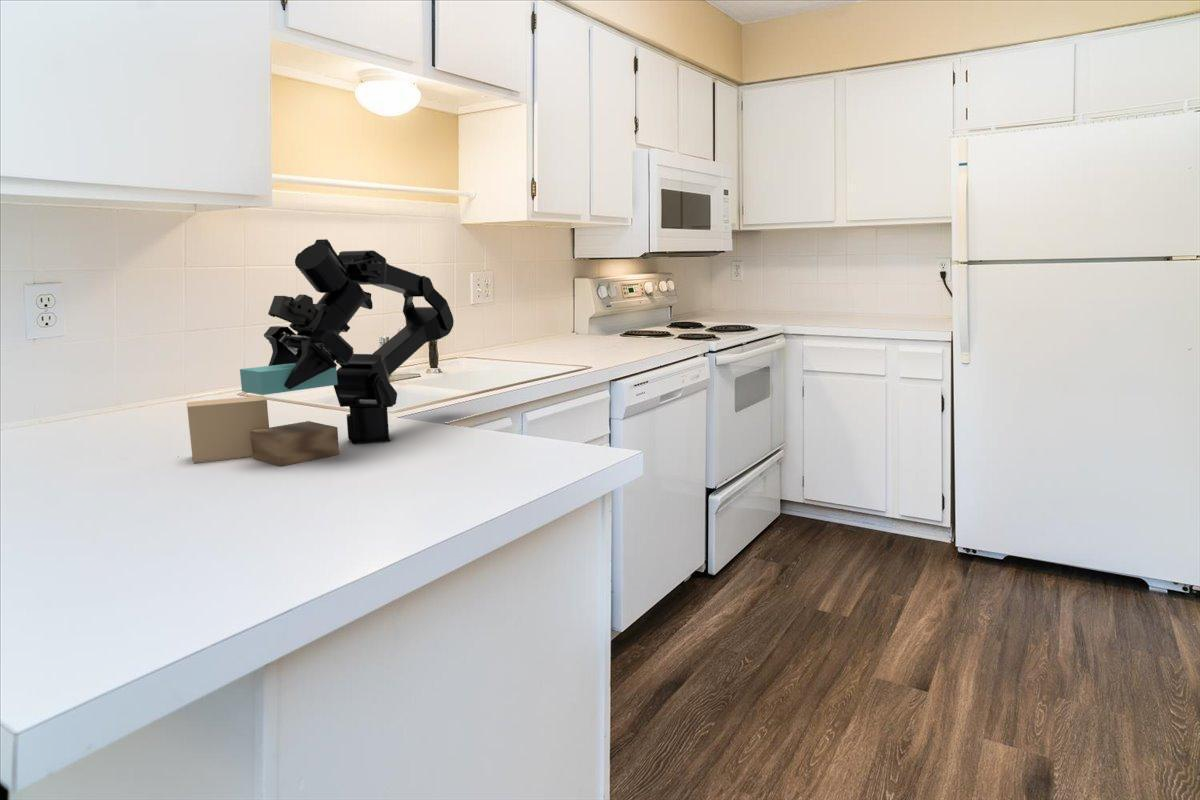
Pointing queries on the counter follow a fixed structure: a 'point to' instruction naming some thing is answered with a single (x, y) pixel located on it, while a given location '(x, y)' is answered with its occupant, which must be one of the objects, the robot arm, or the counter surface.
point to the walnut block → (294, 443)
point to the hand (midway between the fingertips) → (275, 385)
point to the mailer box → (225, 427)
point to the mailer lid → (280, 379)
